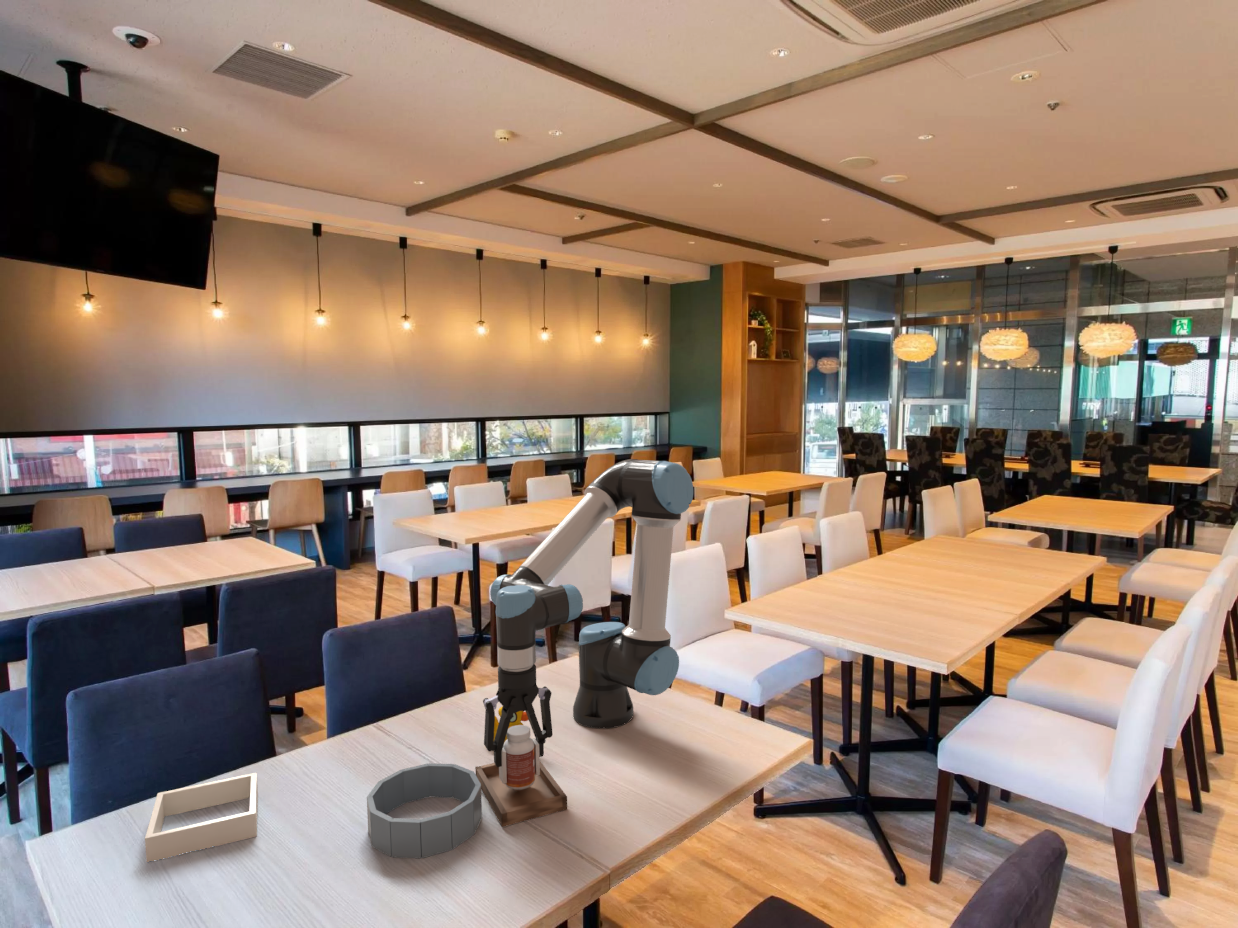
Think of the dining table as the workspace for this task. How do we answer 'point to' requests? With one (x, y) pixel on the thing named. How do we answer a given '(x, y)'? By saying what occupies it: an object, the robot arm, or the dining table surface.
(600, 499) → the robot arm
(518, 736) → the pill bottle
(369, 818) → the grey ringed piece
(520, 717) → the duckling
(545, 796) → the tray
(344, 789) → the dining table surface
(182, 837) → the open rectangular frame
